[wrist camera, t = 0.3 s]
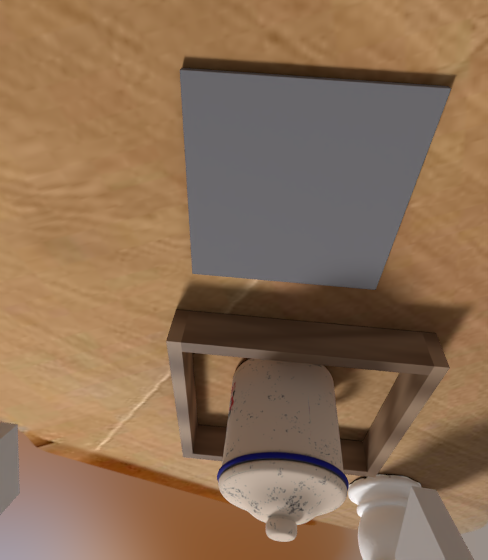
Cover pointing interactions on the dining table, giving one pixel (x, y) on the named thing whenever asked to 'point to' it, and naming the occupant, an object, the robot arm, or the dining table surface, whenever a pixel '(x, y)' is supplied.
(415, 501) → the robot arm
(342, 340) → the walnut box
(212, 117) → the charcoal mat
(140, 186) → the dining table surface
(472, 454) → the dining table surface
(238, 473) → the teacup with lid
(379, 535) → the cherub figurine
